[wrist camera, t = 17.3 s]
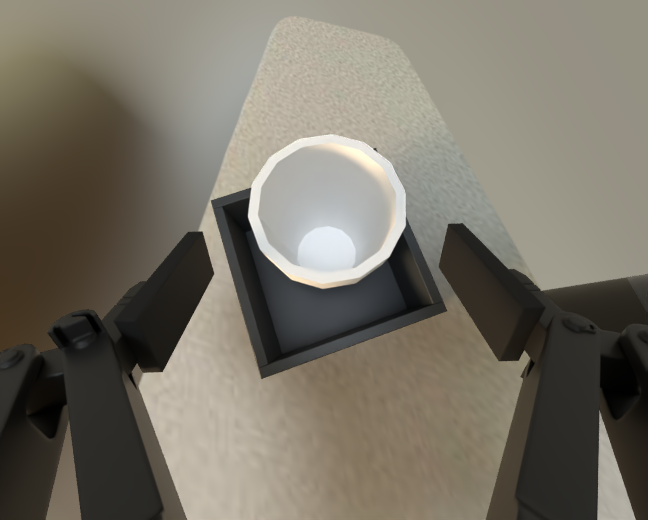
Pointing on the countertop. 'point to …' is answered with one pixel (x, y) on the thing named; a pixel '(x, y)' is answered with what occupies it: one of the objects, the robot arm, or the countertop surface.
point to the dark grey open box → (319, 296)
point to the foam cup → (327, 210)
